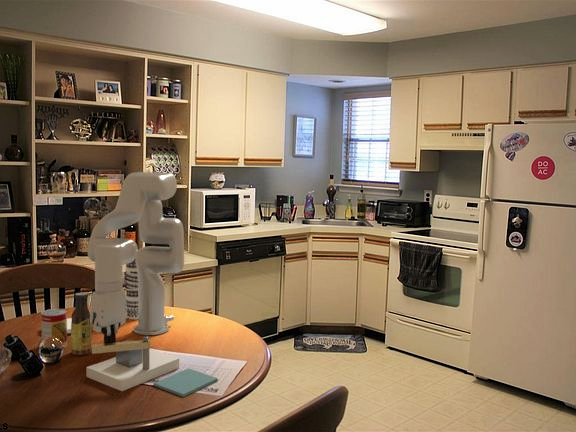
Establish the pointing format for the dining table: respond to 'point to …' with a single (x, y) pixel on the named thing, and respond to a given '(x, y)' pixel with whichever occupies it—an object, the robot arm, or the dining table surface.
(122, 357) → the grey stone cube
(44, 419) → the dining table surface
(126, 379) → the white slab
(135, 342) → the lever
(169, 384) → the mat
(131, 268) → the decorative candle
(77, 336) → the sauce bottle
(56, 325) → the canned food
